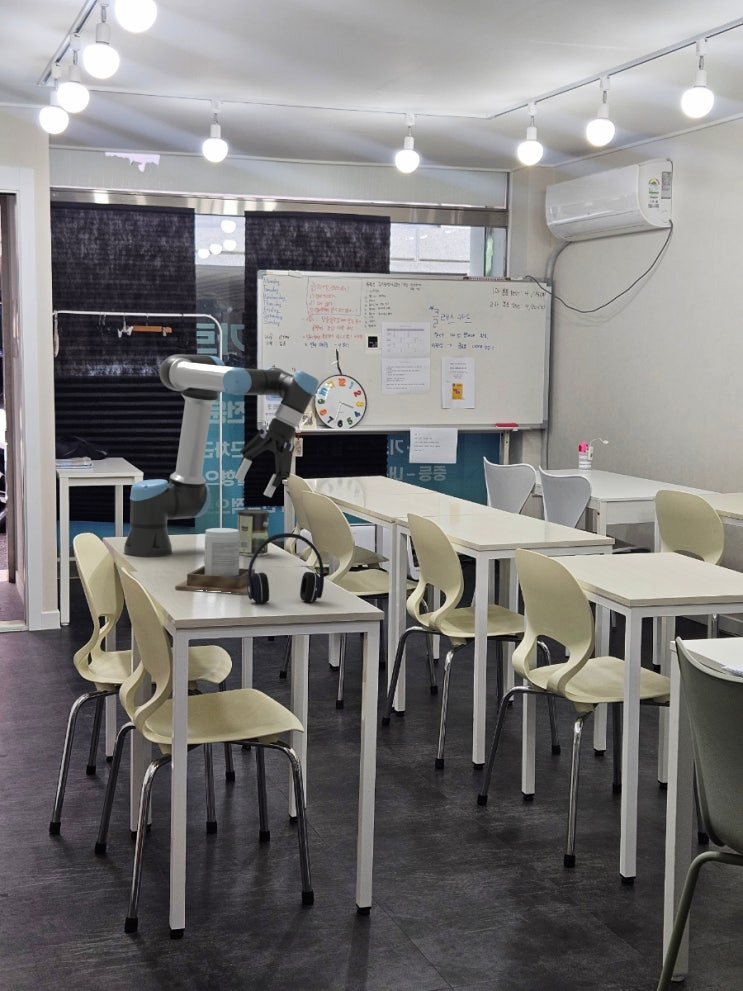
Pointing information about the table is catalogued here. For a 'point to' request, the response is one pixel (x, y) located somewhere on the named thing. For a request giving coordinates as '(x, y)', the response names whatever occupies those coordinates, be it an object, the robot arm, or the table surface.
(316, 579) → the headphones
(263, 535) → the coffee can
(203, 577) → the tray
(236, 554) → the supplement tub
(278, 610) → the table surface
